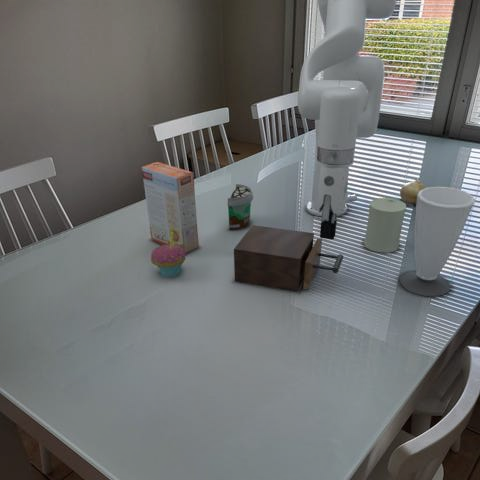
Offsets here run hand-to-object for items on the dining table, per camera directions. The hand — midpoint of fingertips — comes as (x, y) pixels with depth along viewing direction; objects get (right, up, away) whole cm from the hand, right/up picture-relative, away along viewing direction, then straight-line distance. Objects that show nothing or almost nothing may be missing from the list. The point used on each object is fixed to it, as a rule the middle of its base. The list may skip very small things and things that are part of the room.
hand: (327, 237), depth 108 cm
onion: (+35, +19, +46) cm, 61 cm away
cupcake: (-37, -7, +12) cm, 40 cm away
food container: (-19, +10, +34) cm, 40 cm away
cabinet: (-11, -7, +11) cm, 17 cm away
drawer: (-6, -7, +8) cm, 13 cm away
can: (+19, +2, +22) cm, 29 cm away
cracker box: (-38, +2, +25) cm, 45 cm away
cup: (+24, -10, +5) cm, 27 cm away
